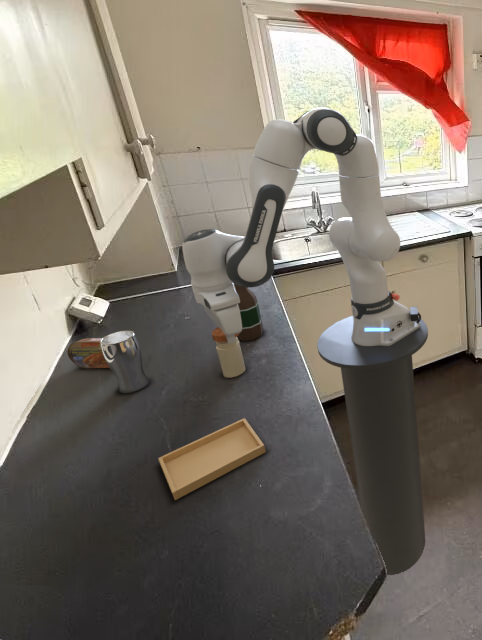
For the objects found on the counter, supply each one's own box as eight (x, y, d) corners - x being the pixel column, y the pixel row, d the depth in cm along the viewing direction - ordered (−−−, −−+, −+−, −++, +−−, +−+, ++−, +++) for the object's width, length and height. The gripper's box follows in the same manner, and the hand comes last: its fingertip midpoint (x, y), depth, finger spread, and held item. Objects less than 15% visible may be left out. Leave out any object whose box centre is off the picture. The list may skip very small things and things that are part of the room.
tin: (71, 368, 119) (61, 342, 116) (82, 362, 122) (72, 336, 119) (127, 368, 119) (118, 342, 116) (136, 361, 122) (127, 336, 119)
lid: (216, 344, 111) (214, 338, 110) (210, 335, 115) (208, 329, 114) (242, 336, 115) (240, 329, 114) (236, 327, 119) (234, 321, 118)
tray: (246, 424, 100) (244, 417, 99) (265, 452, 92) (264, 445, 92) (160, 465, 88) (158, 458, 88) (175, 500, 81) (172, 492, 80)
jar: (241, 363, 122) (234, 331, 119) (248, 371, 119) (240, 339, 115) (220, 371, 119) (211, 339, 115) (226, 380, 115) (218, 346, 111)
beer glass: (115, 385, 112) (97, 336, 107) (149, 374, 117) (133, 327, 111) (118, 398, 107) (99, 347, 102) (153, 386, 112) (136, 337, 107)
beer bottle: (246, 328, 141) (231, 261, 132) (269, 329, 140) (255, 262, 132) (230, 341, 133) (213, 271, 125) (255, 342, 133) (239, 272, 125)
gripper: (189, 283, 114) (202, 327, 119) (212, 307, 102) (225, 356, 106) (216, 276, 119) (227, 319, 124) (241, 299, 106) (253, 346, 111)
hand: (227, 336), depth 115 cm, fingers closed on lid, 6 cm apart
